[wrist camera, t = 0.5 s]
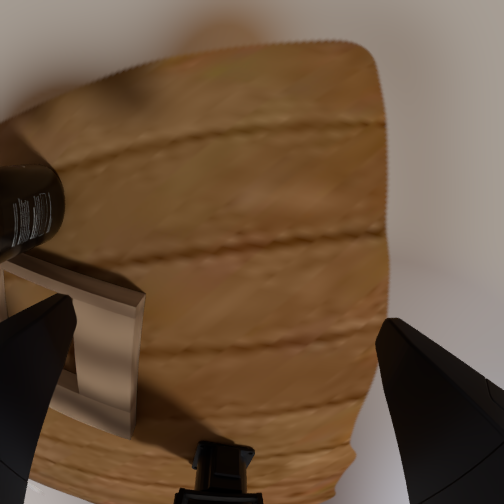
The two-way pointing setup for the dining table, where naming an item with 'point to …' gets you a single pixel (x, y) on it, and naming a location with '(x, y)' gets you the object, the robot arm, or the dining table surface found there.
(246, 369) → the dining table surface
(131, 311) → the tan flat square frame
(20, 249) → the supplement bottle
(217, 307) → the dining table surface
